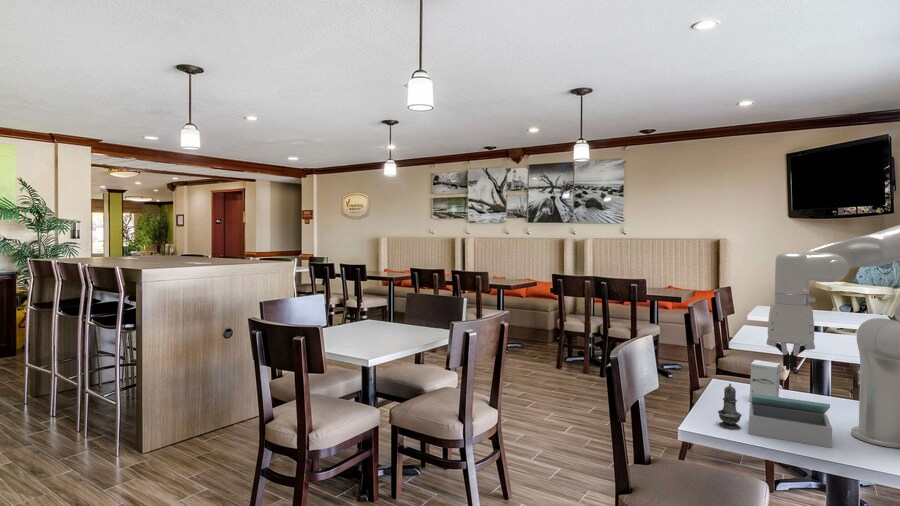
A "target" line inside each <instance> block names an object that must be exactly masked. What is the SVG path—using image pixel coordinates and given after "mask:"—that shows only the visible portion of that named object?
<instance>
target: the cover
mask: <svg viewBox="0 0 900 506" xmlns="http://www.w3.org/2000/svg"><path fill="white" fill-rule="evenodd" d="M751 404H756V405H763V406H770V407H777V408H784V409H791V410H798V411H804V412H811V413H818V414H826V413H827V411H828V410H829V409H830V408H831V404H829V403H823V402H815V401H809V400H804V399H803V400H802V399H796V398H795V399H794V398H788V397H780V396H779V397H773V396H766V395H758V394H752V402H751Z"/></svg>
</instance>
